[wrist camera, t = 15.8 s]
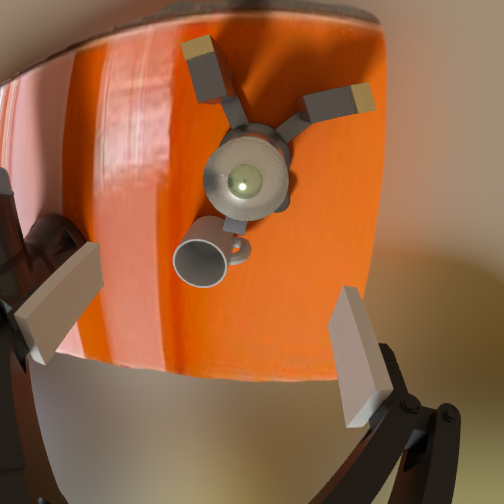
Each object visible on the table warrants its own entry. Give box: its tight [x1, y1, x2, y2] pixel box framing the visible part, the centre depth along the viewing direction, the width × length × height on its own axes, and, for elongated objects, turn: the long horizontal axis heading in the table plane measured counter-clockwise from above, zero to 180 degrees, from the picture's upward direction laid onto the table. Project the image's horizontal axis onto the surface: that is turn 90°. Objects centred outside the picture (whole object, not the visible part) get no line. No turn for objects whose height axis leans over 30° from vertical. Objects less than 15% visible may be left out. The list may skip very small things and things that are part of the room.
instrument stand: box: [203, 89, 313, 236], centre depth 32 cm, size 13×16×15 cm
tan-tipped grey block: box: [296, 82, 376, 123], centre depth 30 cm, size 7×3×12 cm, turn 108°
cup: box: [173, 215, 252, 288], centre depth 41 cm, size 7×10×9 cm
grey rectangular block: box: [181, 35, 237, 105], centre depth 29 cm, size 7×3×12 cm, turn 14°
